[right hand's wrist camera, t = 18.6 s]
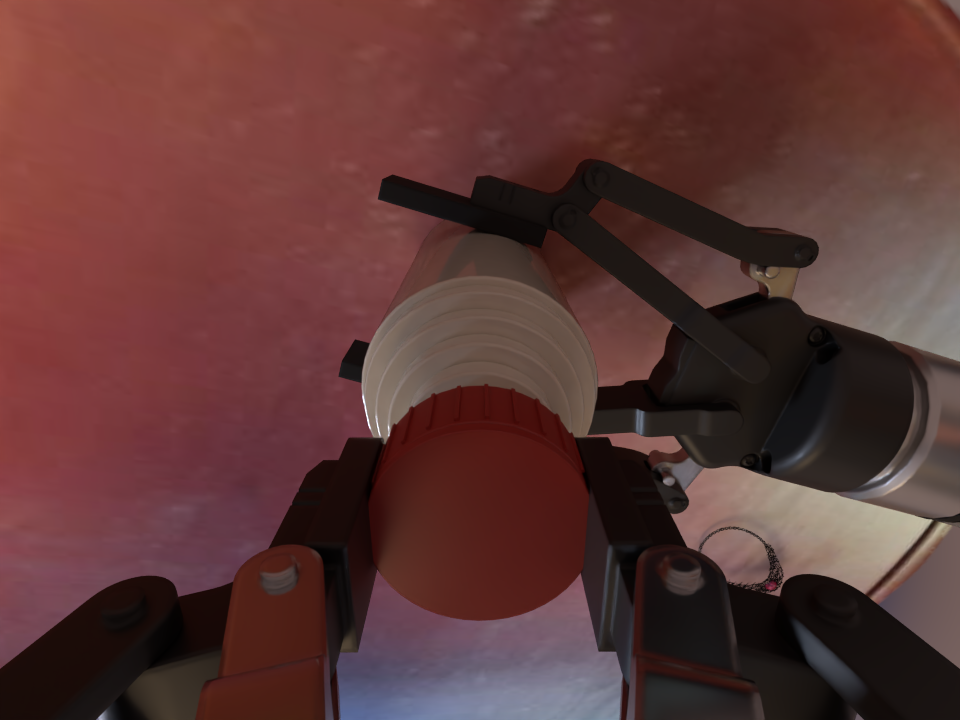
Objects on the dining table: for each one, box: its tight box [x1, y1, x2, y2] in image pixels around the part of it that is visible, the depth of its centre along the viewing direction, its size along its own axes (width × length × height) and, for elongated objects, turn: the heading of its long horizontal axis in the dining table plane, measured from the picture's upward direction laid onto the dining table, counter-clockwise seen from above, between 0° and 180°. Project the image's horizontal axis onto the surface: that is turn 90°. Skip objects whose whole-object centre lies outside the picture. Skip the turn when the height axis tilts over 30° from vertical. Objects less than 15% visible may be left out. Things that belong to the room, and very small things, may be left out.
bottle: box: [361, 220, 598, 444], centre depth 21 cm, size 7×7×21 cm
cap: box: [368, 384, 589, 621], centre depth 12 cm, size 4×4×2 cm
